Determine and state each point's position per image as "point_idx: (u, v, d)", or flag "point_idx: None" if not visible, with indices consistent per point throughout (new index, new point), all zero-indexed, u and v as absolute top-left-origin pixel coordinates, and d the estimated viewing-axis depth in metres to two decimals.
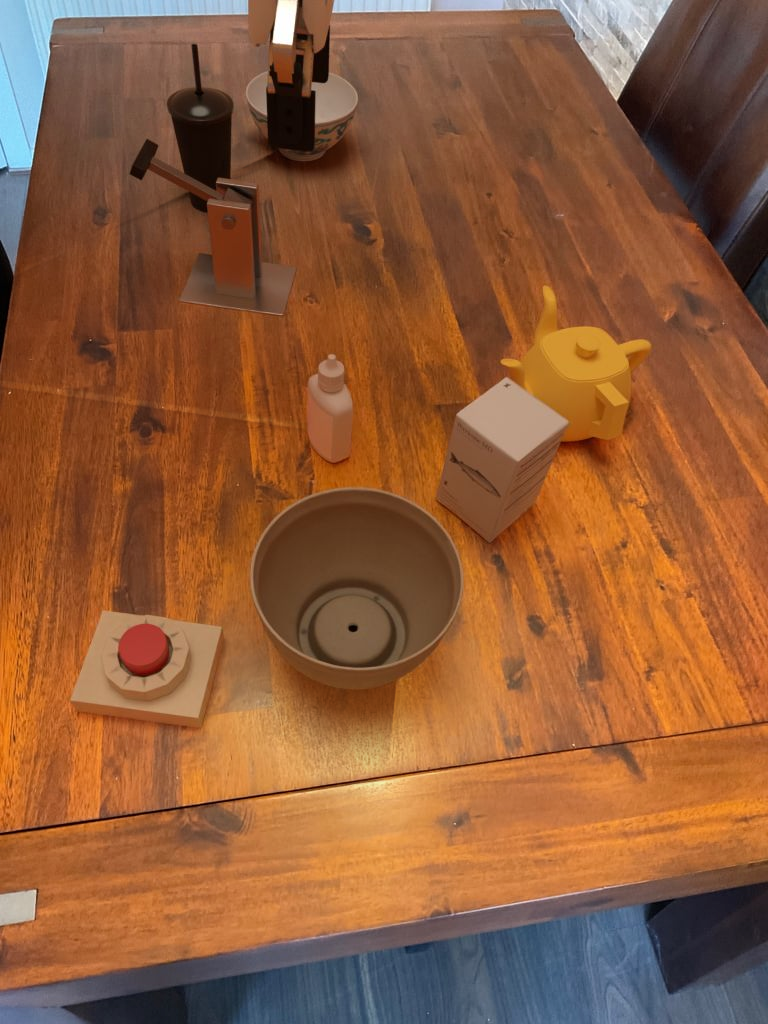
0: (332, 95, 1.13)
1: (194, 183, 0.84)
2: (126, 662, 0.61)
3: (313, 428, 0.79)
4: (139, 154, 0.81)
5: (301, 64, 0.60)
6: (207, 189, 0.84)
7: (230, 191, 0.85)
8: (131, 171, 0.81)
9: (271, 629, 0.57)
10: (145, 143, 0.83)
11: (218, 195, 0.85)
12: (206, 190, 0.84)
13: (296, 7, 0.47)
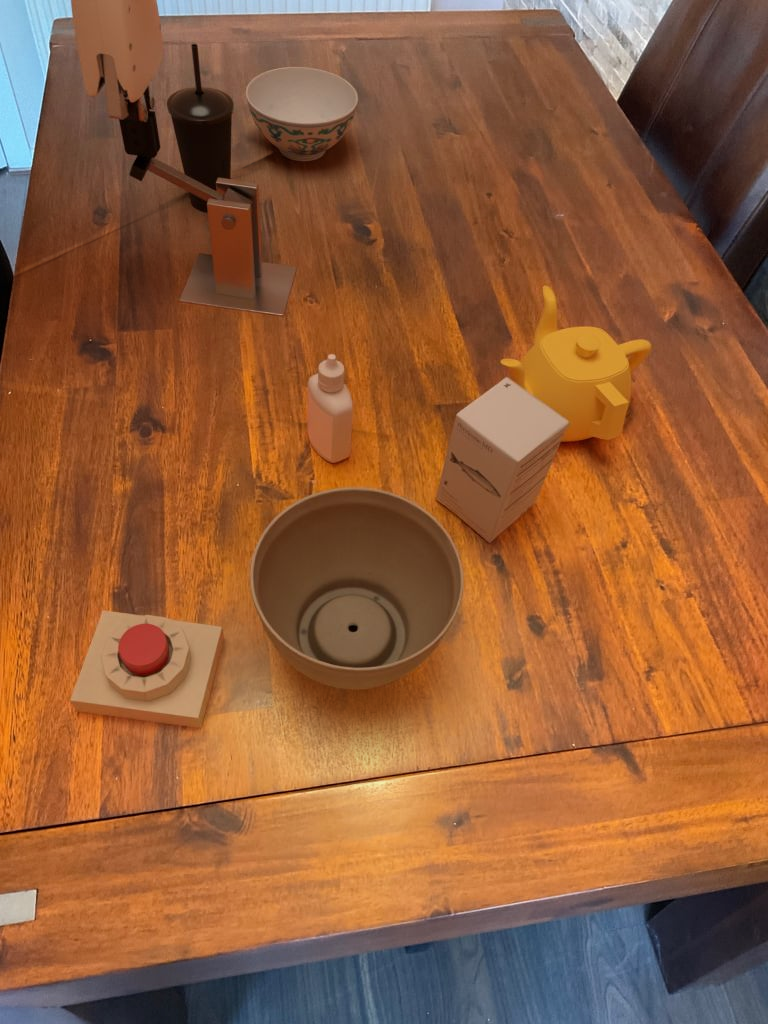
0: (332, 95, 1.13)
1: (194, 184, 0.84)
2: (126, 662, 0.61)
3: (313, 428, 0.79)
4: None
5: None
6: (207, 189, 0.84)
7: (230, 191, 0.85)
8: (131, 172, 0.81)
9: (271, 629, 0.57)
10: None
11: (218, 195, 0.85)
12: (206, 190, 0.84)
13: (117, 85, 0.72)
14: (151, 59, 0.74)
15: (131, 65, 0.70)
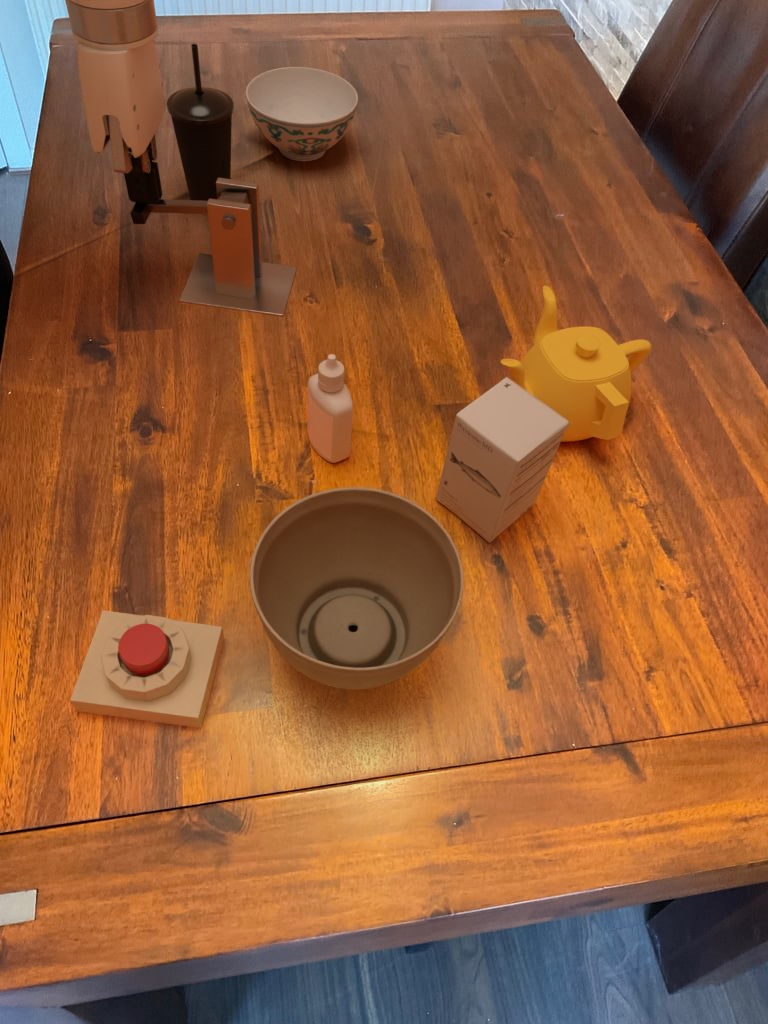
0: (332, 95, 1.13)
1: (191, 203, 0.86)
2: (126, 662, 0.61)
3: (313, 428, 0.79)
4: (136, 202, 0.86)
5: None
6: (203, 203, 0.86)
7: (223, 194, 0.85)
8: (133, 220, 0.85)
9: (271, 629, 0.57)
10: None
11: None
12: (203, 204, 0.86)
13: (122, 142, 0.76)
14: (154, 116, 0.79)
15: (135, 125, 0.75)
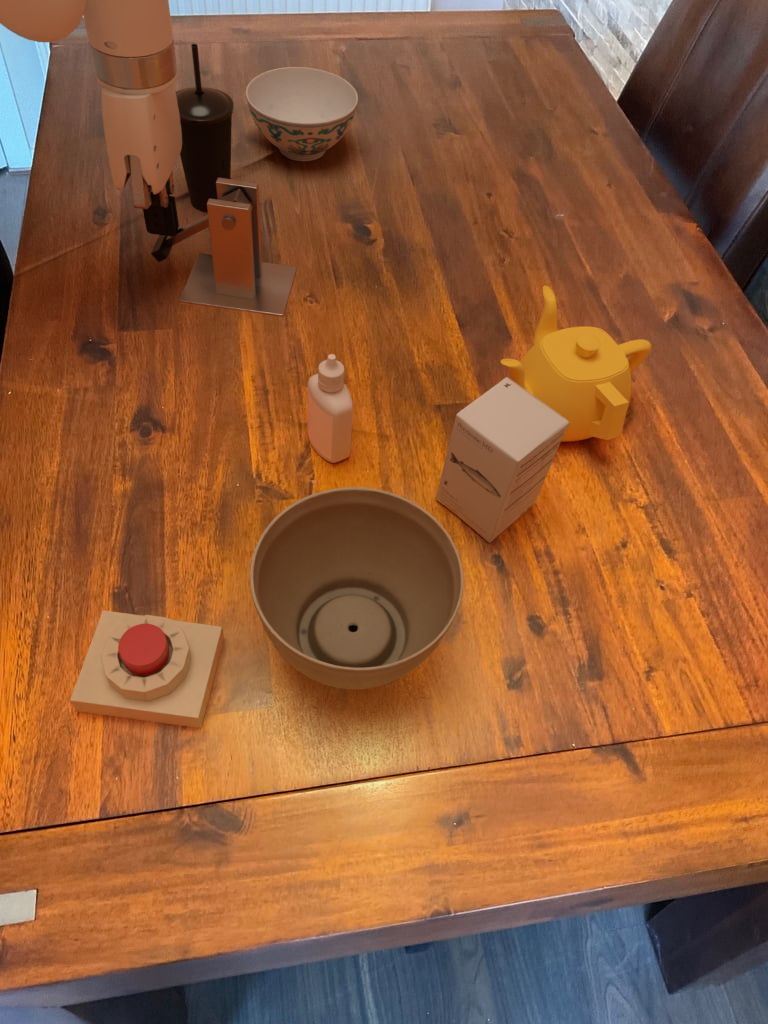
0: (332, 95, 1.13)
1: (198, 221, 0.87)
2: (126, 662, 0.61)
3: (313, 428, 0.79)
4: (156, 242, 0.90)
5: None
6: None
7: (221, 199, 0.86)
8: (156, 259, 0.89)
9: (271, 629, 0.57)
10: None
11: None
12: (207, 217, 0.87)
13: (142, 180, 0.79)
14: (172, 154, 0.82)
15: (155, 164, 0.78)
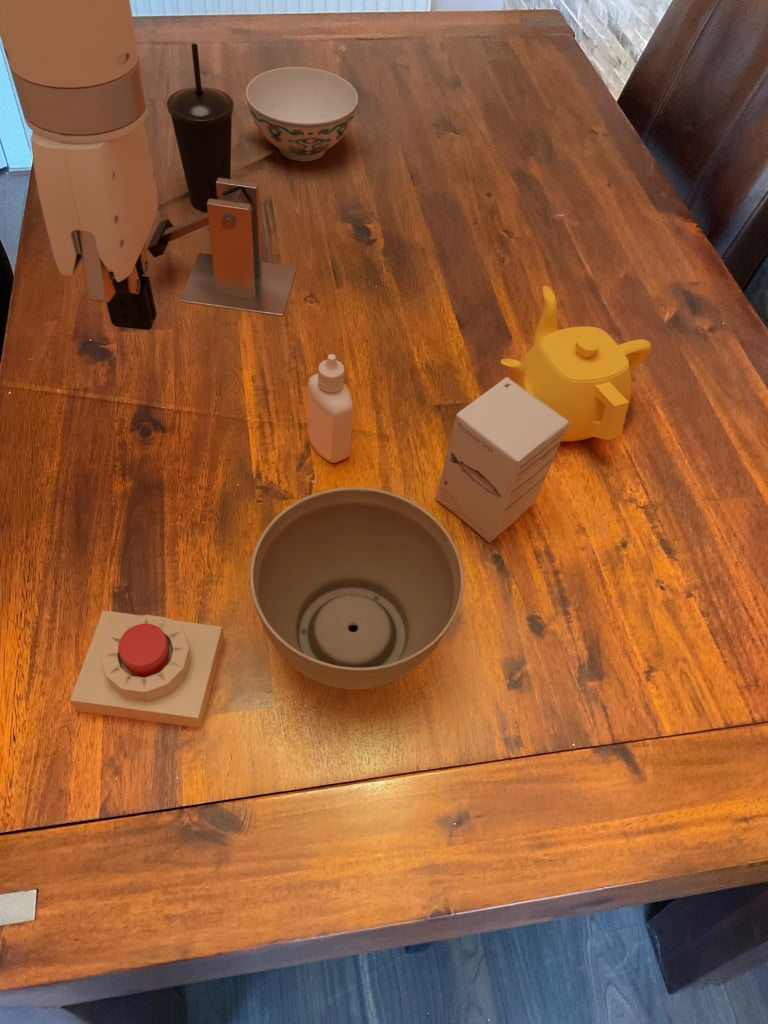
0: (332, 95, 1.13)
1: (196, 219, 0.87)
2: (126, 662, 0.61)
3: (313, 428, 0.79)
4: (152, 237, 0.89)
5: None
6: (207, 214, 0.87)
7: (221, 198, 0.86)
8: (152, 254, 0.89)
9: (271, 629, 0.57)
10: (158, 226, 0.91)
11: None
12: (206, 215, 0.87)
13: (100, 264, 0.54)
14: (143, 221, 0.57)
15: (118, 241, 0.53)
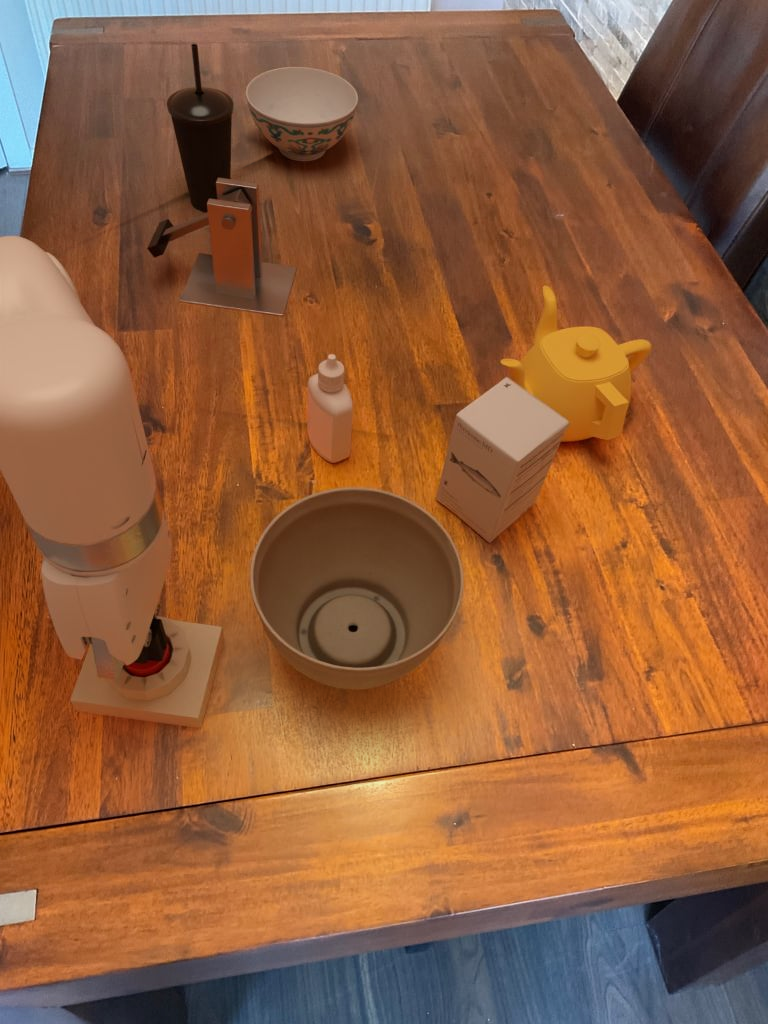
0: (332, 95, 1.13)
1: (196, 219, 0.87)
2: (128, 666, 0.61)
3: (313, 428, 0.79)
4: (152, 237, 0.89)
5: None
6: (207, 214, 0.87)
7: (221, 198, 0.86)
8: (152, 254, 0.89)
9: (271, 629, 0.57)
10: (158, 226, 0.91)
11: None
12: (206, 215, 0.87)
13: None
14: (157, 591, 0.54)
15: (129, 640, 0.51)
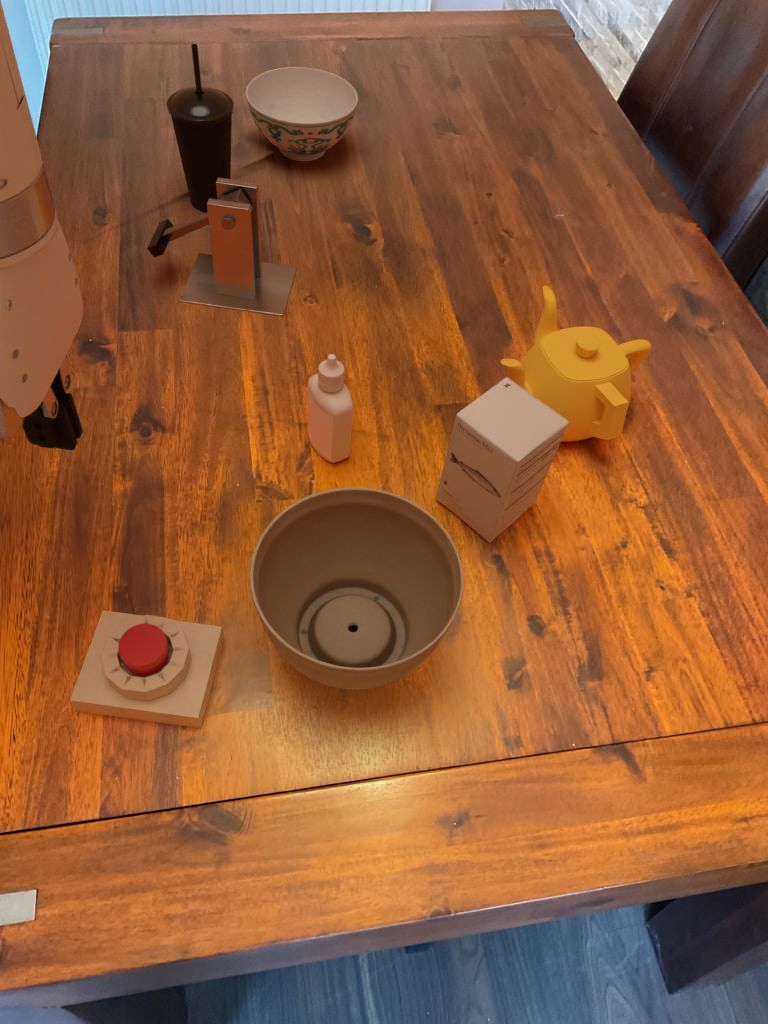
0: (332, 95, 1.13)
1: (196, 219, 0.87)
2: (126, 662, 0.61)
3: (313, 428, 0.79)
4: (152, 237, 0.89)
5: None
6: (207, 214, 0.87)
7: (221, 198, 0.86)
8: (152, 254, 0.89)
9: (271, 629, 0.57)
10: (158, 226, 0.91)
11: None
12: (206, 215, 0.87)
13: None
14: (59, 341, 0.47)
15: (18, 377, 0.43)
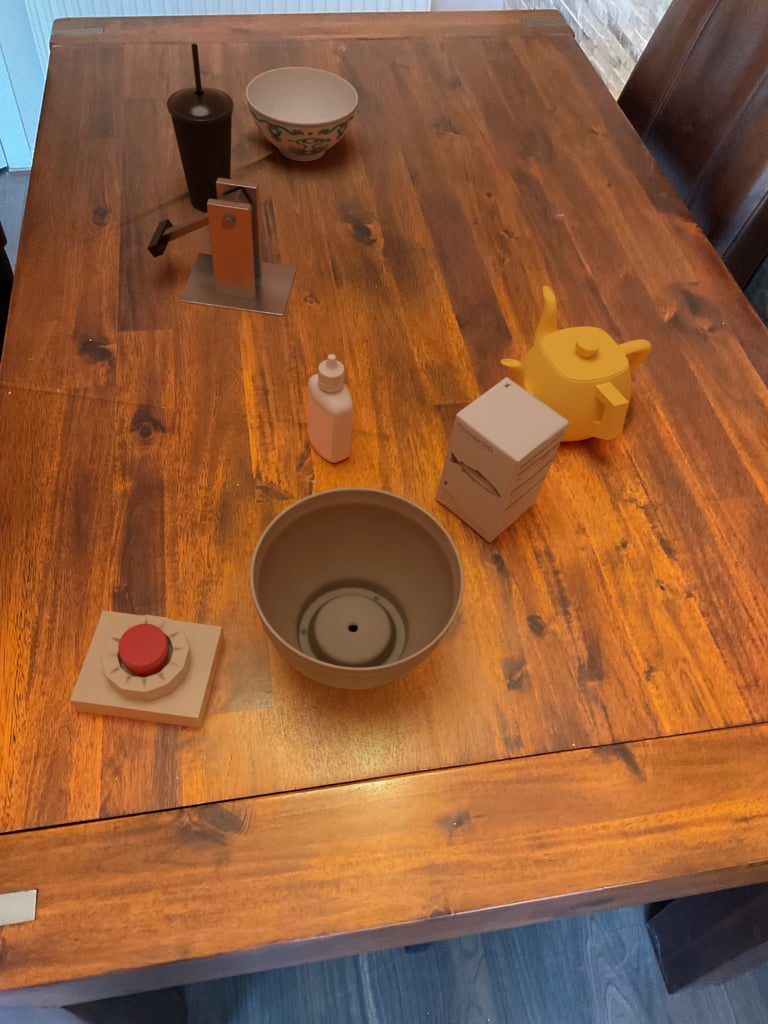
0: (332, 95, 1.13)
1: (196, 219, 0.87)
2: (126, 662, 0.61)
3: (313, 428, 0.79)
4: (152, 237, 0.89)
5: None
6: (207, 214, 0.87)
7: (221, 198, 0.86)
8: (152, 254, 0.89)
9: (271, 629, 0.57)
10: (158, 226, 0.91)
11: None
12: (206, 215, 0.87)
13: None
14: None
15: None
